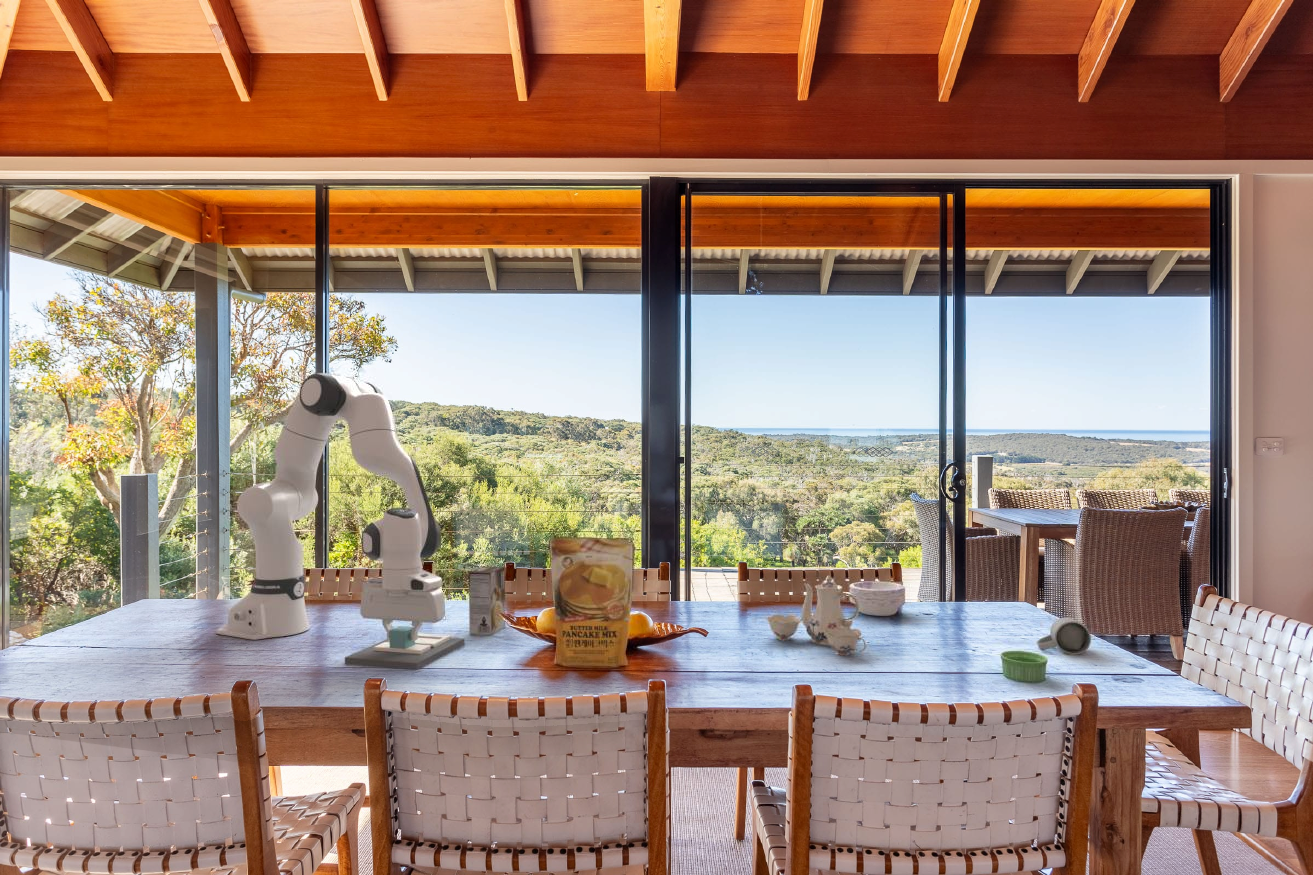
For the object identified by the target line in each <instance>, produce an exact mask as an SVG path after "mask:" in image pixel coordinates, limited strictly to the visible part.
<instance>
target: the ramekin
mask: <svg viewBox="0 0 1313 875" xmlns="http://www.w3.org/2000/svg"><path fill="white" fill-rule="evenodd" d="M1000 659H1001V665H1002V674H1003V676H1005V678H1007V679H1008V680H1009V679H1010V680H1013V681H1014V682H1015V681H1016V682H1020V683H1021V682H1022V683H1031V684H1032V683H1041V682H1043V681H1044V680H1045V679H1046V674H1047V672H1046V671H1047V664H1048V660H1049V658H1048V657H1046V656H1045V655H1043V654H1040V653H1037V652H1032V651H1024V650H1008V651H1002V652H1001V653H1000Z"/></svg>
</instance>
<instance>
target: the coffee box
mask: <svg viewBox="0 0 1313 875" xmlns="http://www.w3.org/2000/svg"><path fill="white" fill-rule="evenodd" d="M468 604H469V607H468V610H469V611H468V614H469V620H468V621H469V624H468V625H469V634H470V635H477V634H479V635H481V636H492V635H494V634H495V633H497V632H499V631H501V630H503V629H504V628H506V620H505V621H504V620H503V618H502V617H501V616H500V615H499V614H500V613H504V614H505V615H506V567H505V566H493V565H492V566H488V565H486V566H481V567H479V568H476V569H473V570H471V571H469V572H468ZM479 635H478V636H479Z"/></svg>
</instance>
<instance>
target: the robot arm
mask: <svg viewBox="0 0 1313 875" xmlns="http://www.w3.org/2000/svg"><path fill="white" fill-rule="evenodd" d="M391 407H392V406H391V405H390V401H389V399H388V398H387V397H385V395H384V394H383V392H382V391H381V390H380V389H379V388H378V387H377V386H375V385H374V384H371V383H369V382H364V381H362V380H359V379H357V378H354V377H353V378H352V377H349V376H340V375H334V374H330V373H326V372H325V373H324V372H317V373H312V374H310V375H309V376H307V377H306V378H305V379H304V380H303V382H302V383H301V387H300V389H299V396H298V397H297V398H296V400H295V401H294V403H293V404H292V406H291V408H290V410H289V412H288V414H287V416H286V419H285V420H284V423H283V426H282V428H281V431H280V434H279V437H278V439H277V442H276V445H275V447H274V450H273V453H272V454H273V458H274V460H275V462H276V466H275V467H276V469H275V476H274V478H273V480H272V481H267V482H260V483H257V484H255V485H252V486H250V487H247V488H246V489H245V490H244V491H242V493H241V494H240V495H239V497H238V499H237V503H236V507H237V508H236V509H237V512H238V516H239V517H240V518H241V520H243V522H244V523H246V524H247V526H248V528H249V530H250V533H251V536H252V540H253V543H254V548H255V564H256V565H255V575H256V576H255V578H253V579H252V580H248V581H246V583H247V584H246V586H247V587H248V586H251V588H250V591H249V593H248V594H246V595H245V596H244V597H243V598H241V599H240V600H239V601H238V602H237V603H235V604H234V605H232V607H230V609H229V612H228V614H227V624H226V625H223V626H221V627H219V628H218V629H217V630H216V634H218V635H223V636H228V637H236V638H241V639H247V640H255V641H256V640H262V639H268V638H278V637H284V636H287V637H288V636H291V635H296V634H300V633H303V632H306V631H308V630H310V629H311V625H310V621H309V618H308V614H307V608H306V603H305V602H306V601H305V590H306V575H305V574H304V545H303V543H302V542H301V541H300V540H299V539H298V537H297V535H296V533H295V528H294V525H293V521H299V520H301V519H303V518H305V517H306V516H309V515H310V514H311V513H313V511H314V510H315V509H316V508H317V506H318V503H319V495H318V492H317V488H316V482H317V481H316V480H317V479H316V478H317V472H318V468H319V464H320V461H321V459H322V455H323V452H324V449H325V447H326V444H327V441H328V439H329V436H330V433H331V430H332V428H333V426H334V424H335V423H336V422H338V421H346V423H347V425H348V435H349V445H350V450H351V454H352V457H353V460H354V461H355V463H357V465H358V466H360V467H361V468H362V469H364V470H365V471H367V472H369V473H372V474H375V475H378V476H381V477H385V478H387V479H389V480H391V481H393V482H395V483H397V484H398V485H399V486H400V487H401V489H402V490H403V491H402V492H404V497H405V499H406V503H407V505H408V507H407V508H406V507H393V508H389V509H387V510H385V511H384V512H383V516H382V518H380V519H377V520H375V521H373V522H372V521H371V522H370V523H368V524H367V526H366V527H365V528H364V530H363V531H362V532H361V550H362V553H363V554H364V555H365V556H366V557H367V558H368V559H370V560H371V561H376V562H382V564H381V565H382V566H381V577H376V578H374V577H369V578H367V579H366V580H364V581H363V583H362V584H361V585H362V586H361V587H362V589H361V591H362V593H361V601H360V607H359V608H360V615H361V617H362V618H363V619H371V620H382V621H381V622H382V626H383V628H384V630H385V631H386V639H390V630H392V629H394V627H393V625H392V623H394V621H397V622H400V621H401V622H402V621H403V622H411V627H414V628H413V630H412V632H410V633H408V640H409V641H415V640H417V639H418V633H419V631H420V629H421V628H422V625H423V623H429V624H436V623H438V622H441V621H442V620H443V619H444V618H445V616H446V602H445V595H444V592H443V590H442V589H441V588H440V587H441V586H443V580H442V579H443V578H442V577H440V576H439V575H436V574H433V573H431V572H428V571H427V570H424V569H423V563H422V560H421V559H430V558H431V557H432V556H433V555H434V554H435V553H436V552H438V550H439V549H440V547H441V544H442V541H443V536H442V535H443V534H442V531H441V528H440V526H439V525H440V524H439V523H438V521H437V520H436V518H435V515H434V513H433V510H432V506H431V504H430V501H429V497H428V494H427V491H426V488H425V485H424V482H423V479H422V476H421V473H420V470H419V467H418V465H417V462H416V460H415V459H414V457H413V456H411V455H409V454H408V453H407V452H406V451H405V449H404V448H403V446H402V445H401V443H400V440H399V437H398V432H397V425H396V421H395V416H394V413H393V411H392V408H391Z"/></svg>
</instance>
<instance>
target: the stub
mask: <svg viewBox="0 0 1313 875" xmlns="http://www.w3.org/2000/svg"><path fill="white" fill-rule="evenodd" d="M413 628H414V626H403V625H402V626H396V627H393V629H392V630H390V642H384V643H382V644H379V645H377V646H375V647H374V650H375V651H388V652H400V653H413V654H422V653H424V652H426V651H428V650H430V649H431V645H418V644H415V641H409V640H408V633H410V632H412V630H413Z"/></svg>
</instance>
